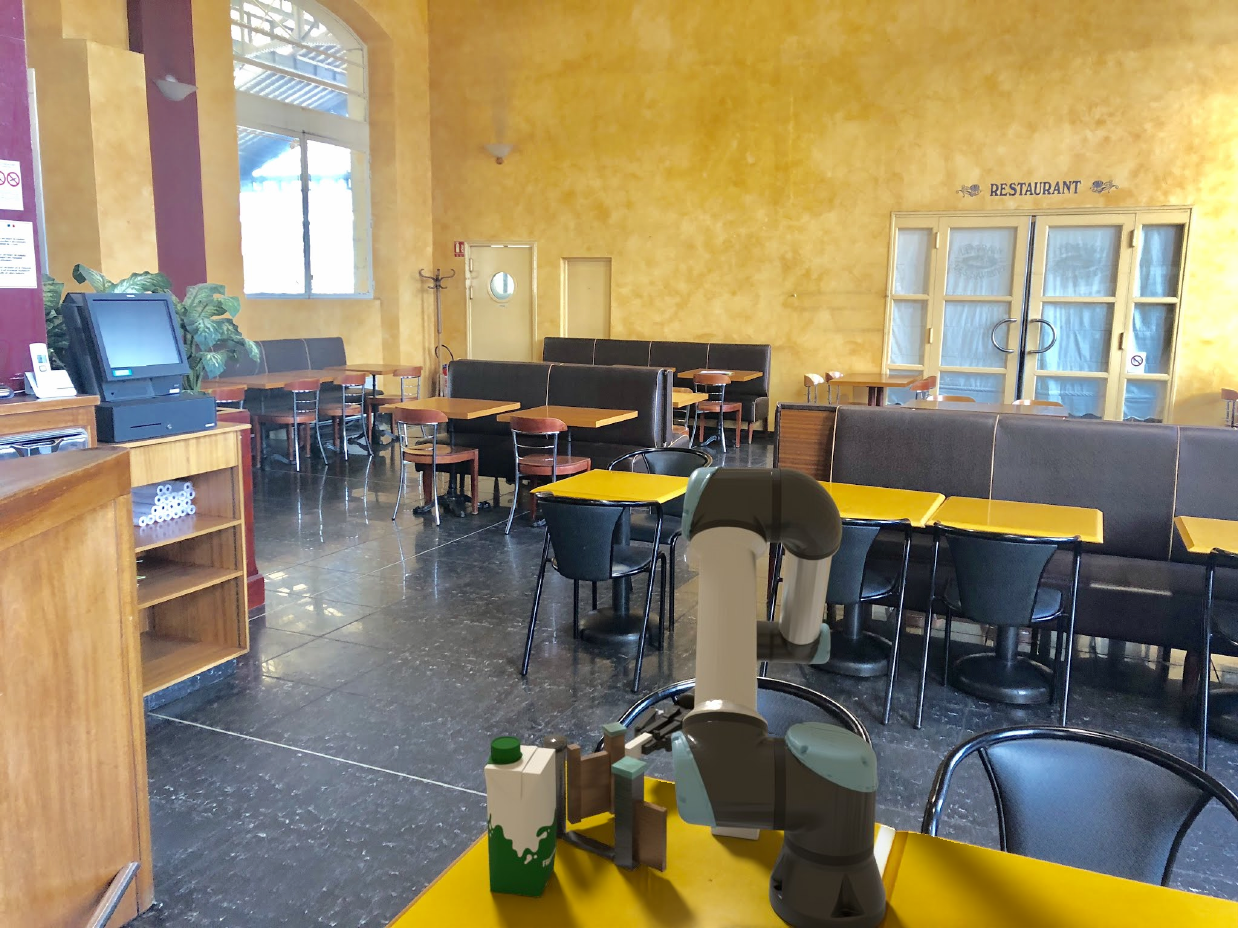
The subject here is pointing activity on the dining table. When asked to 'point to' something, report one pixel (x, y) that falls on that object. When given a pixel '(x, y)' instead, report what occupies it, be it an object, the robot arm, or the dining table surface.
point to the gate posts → (617, 815)
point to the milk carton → (520, 816)
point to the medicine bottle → (736, 832)
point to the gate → (593, 775)
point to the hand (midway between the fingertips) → (625, 755)
